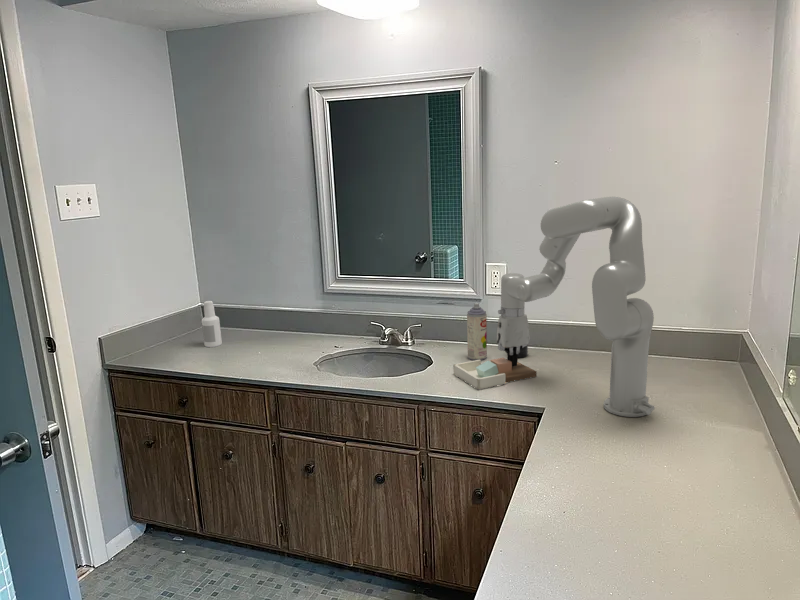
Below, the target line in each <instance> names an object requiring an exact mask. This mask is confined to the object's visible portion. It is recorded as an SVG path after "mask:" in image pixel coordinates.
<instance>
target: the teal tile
mask: <svg viewBox="0 0 800 600" xmlns="http://www.w3.org/2000/svg"><path fill="white" fill-rule="evenodd" d="M476 370H477V373H478V375H479V376H481V377H482V378H483V377H488V376H493V375H496V374H497V373H499V372H498V369H497V366H496V364H494V363H492V362H490V361H489V360H485V362H482V363H481V365H479V366H477V367H476Z"/></svg>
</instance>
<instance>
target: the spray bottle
mask: <svg viewBox="0 0 800 600" xmlns="http://www.w3.org/2000/svg"><path fill="white" fill-rule="evenodd" d="M203 311H204V313H203V314H204V317H202V319H201V327H202V337H203V345H204V347H207V348H214V347H215V348H216V347H219V346H221V345H222V343H223V342H222V341H223V340H222V339H223V338H222V332H221V324H220V323H221V321H220V317H219V316H217V315H216V313H215V312H216V311H215V305H214V302H213V301H212V300H206V301H204V302H203Z"/></svg>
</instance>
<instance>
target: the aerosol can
mask: <svg viewBox="0 0 800 600" xmlns="http://www.w3.org/2000/svg"><path fill="white" fill-rule="evenodd" d="M473 304H474V305H473V306H472V308H470V310H469V311H467V313H466V326H467V327H466V331H467V332H466V334H467V338H466V339H467V340H466V341H467V359H468V360H469V361H475V360H481V361H486V360H487V359H488V357H487V356H488V354H487V353H488V345H487V344H488V340H487V339H488V336H487V335H488V334H487V333H488V332H487V331H488V330H487V327H488V326H487V323H488V320H487V319H488V318H487V311H485V310H484V309H483V308H482V307H481V306H480V303H478V302H477V303H473Z"/></svg>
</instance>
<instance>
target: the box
mask: <svg viewBox="0 0 800 600" xmlns="http://www.w3.org/2000/svg"><path fill="white" fill-rule="evenodd" d="M481 364H482V360H475V361H473V360H469V361H466V362H459V363H453V367H452V369H453V375H454V376H455V377H457V378H458V377H459V378H458V379H460V380H461V379H462V381H463V380H464V381H463V382H465V381H466V382H467V383H466V382H465V383H466V384H468V383H469V384H470V385H469V384H468V385H469V386H471V385H472V386H473V388H474V387H475V388H476V389H475V388H474V389H475V390H477V389H478V390H477V391H480V390H479V389H481V390H485V389H484V388H486V389H489V388H488V387H491V388H494V387H493V386H496V387H498V386H497V385H501V386H503V385H502V384H505V385H506V383H505V373H503V374H498V375H493V376H488V377H483V378H482V377H481V376H479V375H478V373H477V370H476V367H477V366H479V365H481ZM472 386H471V387H472Z"/></svg>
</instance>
